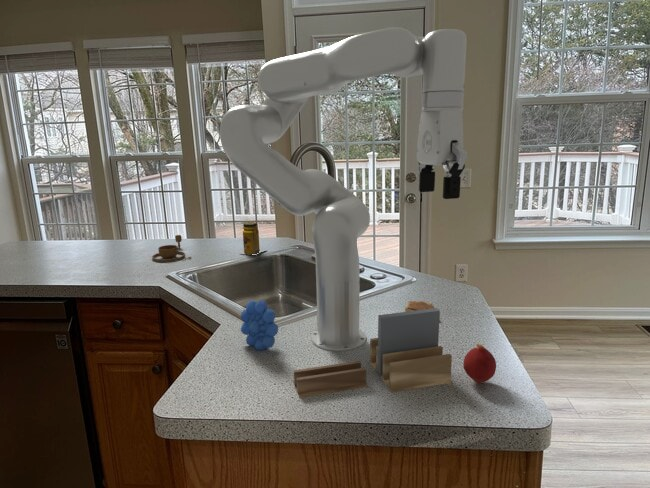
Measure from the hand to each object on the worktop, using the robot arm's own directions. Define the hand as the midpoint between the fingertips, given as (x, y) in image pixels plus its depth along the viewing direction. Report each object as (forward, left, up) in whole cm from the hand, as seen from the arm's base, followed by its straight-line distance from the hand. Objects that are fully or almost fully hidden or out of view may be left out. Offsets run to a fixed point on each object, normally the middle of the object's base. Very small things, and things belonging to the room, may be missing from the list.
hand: (438, 194), depth 90 cm
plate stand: (+6, -24, -34) cm, 42 cm away
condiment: (-95, -27, -35) cm, 105 cm away
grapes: (-13, -34, -34) cm, 50 cm away
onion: (+12, +3, -34) cm, 37 cm away
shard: (-22, +10, -35) cm, 43 cm away
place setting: (-101, -56, -35) cm, 121 cm away
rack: (+6, -8, -34) cm, 36 cm away
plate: (+6, -8, -33) cm, 35 cm away
